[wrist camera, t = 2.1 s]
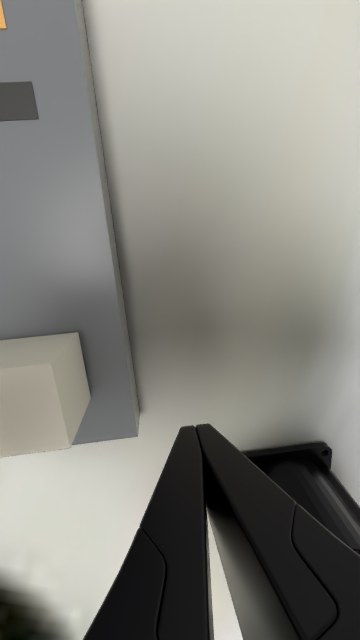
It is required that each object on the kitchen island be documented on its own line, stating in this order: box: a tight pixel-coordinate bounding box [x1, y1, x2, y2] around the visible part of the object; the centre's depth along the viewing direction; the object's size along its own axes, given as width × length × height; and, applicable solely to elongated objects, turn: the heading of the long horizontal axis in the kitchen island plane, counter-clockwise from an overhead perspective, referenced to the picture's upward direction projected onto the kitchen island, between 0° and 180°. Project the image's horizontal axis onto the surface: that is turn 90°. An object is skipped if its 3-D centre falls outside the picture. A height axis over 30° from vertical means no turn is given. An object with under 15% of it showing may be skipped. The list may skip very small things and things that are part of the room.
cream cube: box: [0, 332, 91, 457], centre depth 11 cm, size 4×4×4 cm
